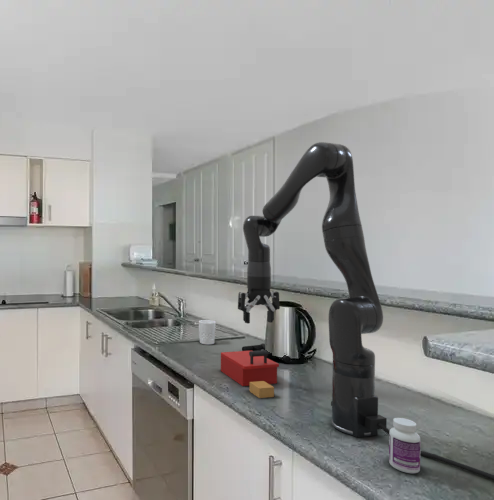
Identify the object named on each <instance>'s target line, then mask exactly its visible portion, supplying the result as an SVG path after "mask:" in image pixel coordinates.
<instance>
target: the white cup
mask: <svg viewBox="0 0 494 500" xmlns="http://www.w3.org/2000/svg"><path fill="white" fill-rule="evenodd" d="M216 325H217V322H216V320H212V319H199V320H198V338H199V343H200V344H201V345H214V344H215V342H216V341H215V340H216V327H217V326H216Z"/></svg>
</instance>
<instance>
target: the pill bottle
mask: <svg viewBox="0 0 494 500" xmlns="http://www.w3.org/2000/svg"><path fill="white" fill-rule="evenodd" d="M392 425H393V427H391V428H390V429H389V430H390V431H389V435H388V436H389V437H388V462H389V464H390V466H391V467H393V468H394V469H395V470H397V471H400V472H402V473H406V474H418V473H419V472H420V471H421V455H420V451H421V445H422V444H421V443H422V442H421V436H420V435H419V434H418V432H417V427H418V425H417V423H416V422H415V421H413V420H412V419H408V418H404V417H394V418H393V419H392Z"/></svg>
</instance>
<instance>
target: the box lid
mask: <svg viewBox="0 0 494 500" xmlns="http://www.w3.org/2000/svg"><path fill="white" fill-rule="evenodd" d="M221 355H222V356H223V357H225V358H227V359H228V360H230V361H231V362H233V363H235V364H236V365H238V366H240V367H241V368H243V369H257V368H270V367H277V368H279V367H280V364H279V363H278V362H276V361H275V360H270V359H268V358H267V356H268V351H267V350H262V351H242V350H239V351H238V350H237V351H223V352H220V356H221Z"/></svg>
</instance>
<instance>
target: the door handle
mask: <svg viewBox="0 0 494 500" xmlns="http://www.w3.org/2000/svg"><path fill="white" fill-rule="evenodd" d="M265 344H266V343H260V344H254V345H244V346H242V347H241V351H262V350H265ZM286 355H287V354H286ZM286 355H284V356H283V357H282V359H283V360H281V359H279V358H272V353H270V352H268V356H267V358H268V359H270V360H272V361H277V360H279V361H281V362H283V363H290V362H291V361H292V357H291V356H290V355H288V356H286Z"/></svg>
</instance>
